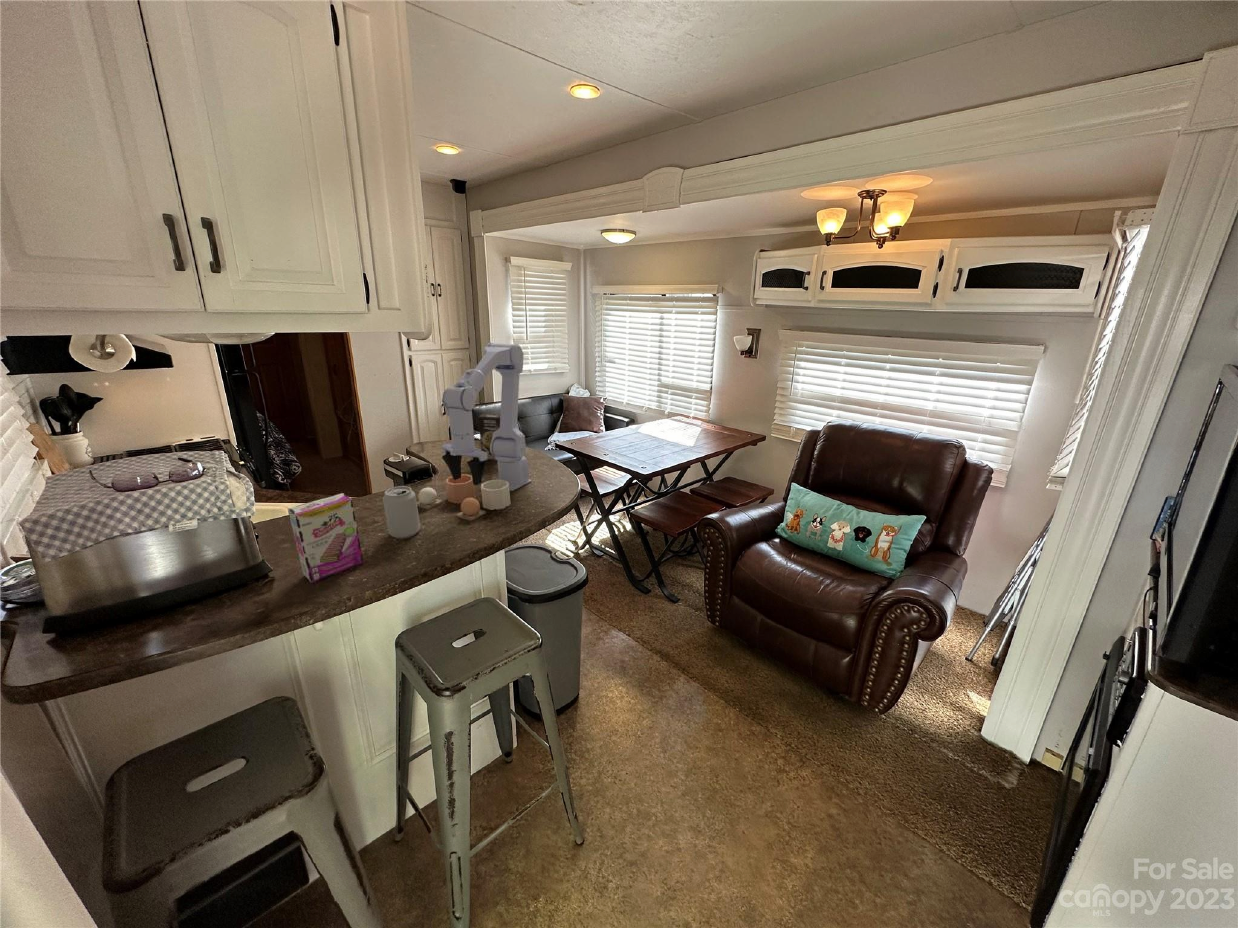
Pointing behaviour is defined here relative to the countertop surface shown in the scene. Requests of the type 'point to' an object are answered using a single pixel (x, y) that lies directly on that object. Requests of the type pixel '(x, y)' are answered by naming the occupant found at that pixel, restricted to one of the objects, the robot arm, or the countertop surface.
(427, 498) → the cream ball
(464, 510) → the terracotta ball
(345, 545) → the candy bar box
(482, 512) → the stand
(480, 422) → the coffee box
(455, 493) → the terracotta round cup
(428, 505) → the stand
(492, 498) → the white cup
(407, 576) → the countertop surface
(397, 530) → the can
